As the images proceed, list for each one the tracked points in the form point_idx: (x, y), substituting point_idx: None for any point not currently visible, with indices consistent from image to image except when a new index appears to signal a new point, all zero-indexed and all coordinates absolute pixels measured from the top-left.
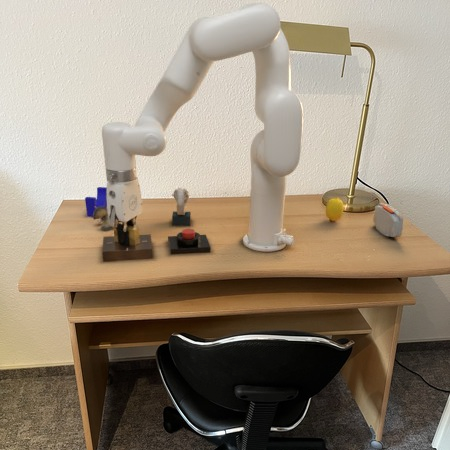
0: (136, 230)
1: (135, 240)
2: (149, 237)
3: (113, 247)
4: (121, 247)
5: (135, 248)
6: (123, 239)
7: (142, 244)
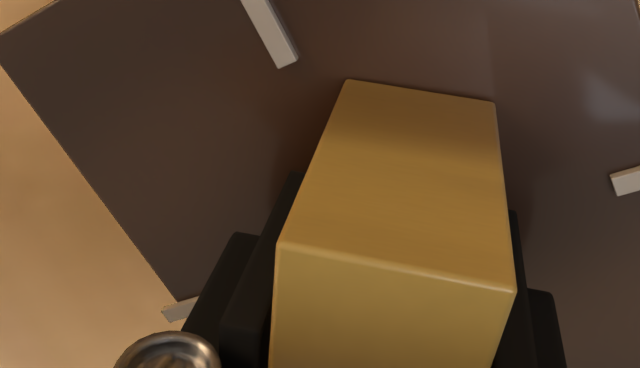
0: (404, 238)
1: (480, 140)
2: (87, 10)
3: (599, 352)
4: (583, 267)
5: (594, 61)
6: (552, 326)
7: (389, 11)
